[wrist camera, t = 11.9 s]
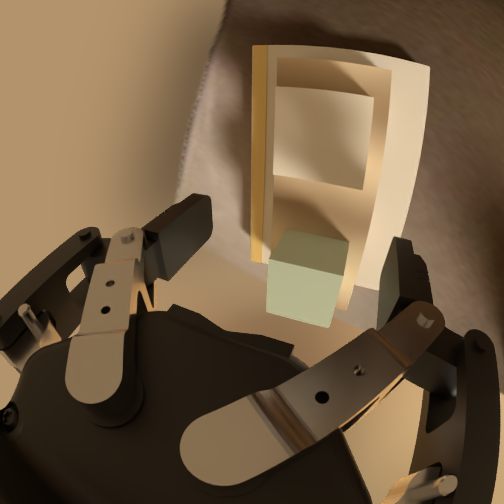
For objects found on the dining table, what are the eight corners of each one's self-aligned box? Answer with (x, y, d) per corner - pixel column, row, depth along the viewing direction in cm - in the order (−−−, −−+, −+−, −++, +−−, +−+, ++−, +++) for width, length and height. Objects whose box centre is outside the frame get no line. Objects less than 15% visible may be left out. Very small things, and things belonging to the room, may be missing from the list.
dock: (264, 50, 17) (251, 45, 15) (422, 70, 13) (430, 66, 11) (260, 245, 27) (250, 260, 25) (382, 274, 23) (381, 292, 21)
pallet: (295, 64, 15) (277, 57, 12) (385, 76, 13) (391, 70, 10) (283, 263, 24) (268, 292, 21) (351, 279, 22) (345, 311, 19)
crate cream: (295, 88, 12) (275, 86, 10) (371, 97, 11) (374, 97, 8) (292, 157, 15) (273, 174, 12) (363, 169, 13) (362, 190, 11)
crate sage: (287, 228, 17) (268, 258, 15) (349, 242, 16) (343, 275, 13) (282, 278, 19) (265, 311, 17) (337, 291, 18) (328, 328, 16)
